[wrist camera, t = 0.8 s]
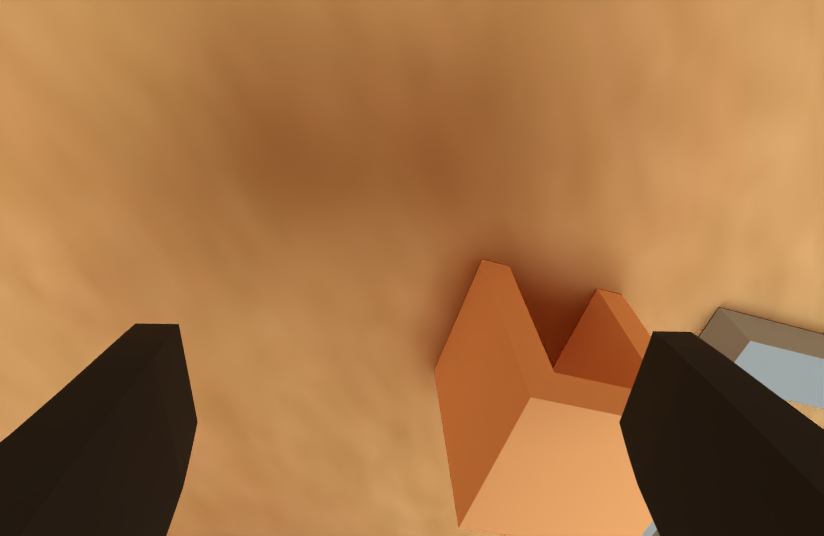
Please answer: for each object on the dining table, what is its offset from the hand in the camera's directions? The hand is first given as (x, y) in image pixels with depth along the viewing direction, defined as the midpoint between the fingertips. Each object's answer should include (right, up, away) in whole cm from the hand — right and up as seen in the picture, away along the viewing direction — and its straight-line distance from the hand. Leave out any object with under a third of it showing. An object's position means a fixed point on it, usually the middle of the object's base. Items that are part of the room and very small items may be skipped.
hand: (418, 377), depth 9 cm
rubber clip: (+4, -1, +12) cm, 13 cm away
